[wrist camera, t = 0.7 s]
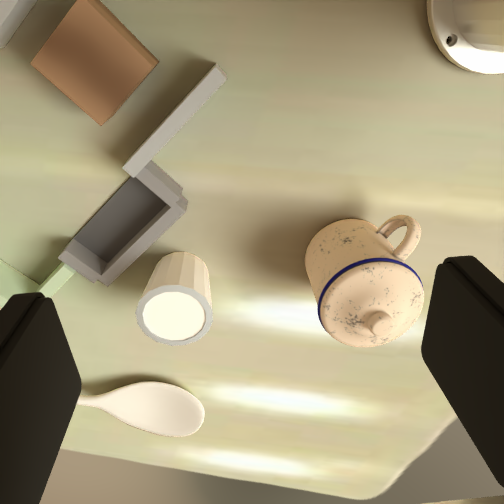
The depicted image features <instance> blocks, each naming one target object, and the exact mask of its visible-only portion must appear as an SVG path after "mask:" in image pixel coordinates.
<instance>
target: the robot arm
mask: <svg viewBox="0 0 504 504" xmlns="http://www.w3.org/2000/svg"><path fill="white" fill-rule="evenodd" d="M427 16H428V24H429V27H430V30H431V33H432V37H433V39H434V41H435V43H436V44H437V46H438V48H439V50H440V51H441V52H442V53H443V54H444V56H445V57H446V58H447V59H448V60H449V61H451V62H452V63H454V64H455V65H457V66H458V67H460V68H462V69H465V70H468V71H470V72H474V73H480V74H503V73H504V0H427ZM448 37H449V41H448V43H446V40H447V38H448ZM421 352H422V357H423V360H424V362H425V364H426V365H427V367H428V368H429V370H430V372H431V373H432V375H433V377H434V378H435V380H436V382H437V383H438V385H439V387H440V388H441V390H442V391H443V393H444V395H445V396H446V398H447V400H448V401H449V403H450V405H451V406H452V408H453V409H454V411H455V413H456V414H457V416H458V418H459V419H460V421H461V423H462V424H463V426H464V428H465V429H466V431H467V432H468V434H469V436H470V437H471V439H472V441H473V442H474V444H475V446H476V447H477V449H478V451H479V452H480V454H481V455H482V457H483V459H484V460H485V462H486V464H487V465H488V467H489V468H490V470H491V472H492V473H493V475H494V477H495V478H496V480H497V481H498V483H499V484H500V485H501V486H502V487H504V283H503V282H502V281H500V280H499V279H498V278H497V277H496V276H495V275H494V274H493V273H492V272H491V271H489V270H488V269H487V268H486V267H485V266H484V265H483V264H482V263H481V262H480V261H479V260H477V259H476V258H475V257H473V256H458V257H448V258H446V259H445V260H444V262H443V264H439V265H438V266H437V269H436V274H435V279H434V284H433V289H432V294H431V300H430V305H429V310H428V315H427V320H426V325H425V330H424V336H423V341H422V346H421ZM80 392H81V378H80V375H79V372H78V369H77V367H76V364H75V361H74V358H73V355H72V353H71V350H70V347H69V344H68V342H67V339H66V336H65V333H64V330H63V328H62V325H61V322H60V319H59V316H58V314H57V311H56V308H55V305H54V303H53V301H52V299H51V298H49V297H45V296H44V294H43V293H41V292H32V293H20V294H14V295H12V296H11V297H10V299H9V300H8V301H7V303H6V304H5V305H4V306H3V308H2V309H1V310H0V504H39V502H40V500H41V497H42V495H43V492H44V489H45V487H46V484H47V481H48V478H49V476H50V473H51V470H52V468H53V465H54V463H55V460H56V457H57V455H58V451H59V449H60V446H61V444H62V441H63V438H64V436H65V433H66V430H67V428H68V425H69V422H70V420H71V417H72V414H73V412H74V409H75V406H76V404H77V401H78V398H79V396H80ZM424 504H504V496H493V497H483V498H473V499H463V500H453V501H443V502H434V503H424Z"/></svg>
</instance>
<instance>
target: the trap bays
mask: <svg viewBox="0 0 504 504" xmlns="http://www.w3.org/2000/svg"><path fill="white" fill-rule="evenodd" d="M182 189H183V188H182V187H181V186H180V185H179V184H178V183H176V182H175V181H174V180H173V179H172V178H171V177H170V176H169V175H167V174H166V173H165V172H164V171H163V170H162V169H161V168H160V167H159V166H157V165H156V164H155V163H154V162H153V161H152V160H150V161H149V162H148V163H147V165H146V166H145V167H144V168H143V169H142V170H141V171H140V172H139V173H138V174H137V175H136V176H135V177H134V178H133V177H132V176H131V177H130V178H129V179H128V180H127V181H126V183H125V184H124V185H123V186H122V187H121V188H120V189H119V190H118V191H117V192H116V193H115V194H114V195H113V196H112V197H111V198H110V200H109V201H108V202H107V203H106V204H105V205H104V206H103V207H102V208H101V209H100V210H99V211H98V212H97V213H96V214H95V215H94V217H93V218H92V219H91V220H90V221H89V222H88V223H87V224H86V225H85V226H84V227H83V228H82V229H81V230H80V231H79V232H78V234H77V235H76V236H75V237H74V238H73V239H72V240H71V241H70V242H69V243H68V244H67V245H66V247H65V248H64V249H63V251H62V252H61V254H60V255H59V257H58V259H59V260H61V261H62V262H64V263H65V264H67V265H68V266H69V267H71V268H72V269H74V270H75V271H77V272H78V273H80V274H81V275H82V276H84V277H85V278H87V279H88V280H90V281H91V282H92V283H95V282H96V281H97V280H99V281H100V282H102V283H103V284H104V285H106V286H107V287H108V286H109V285H110V284H111V283H112V282H113V281H114V280H115V279H116V278H118V277H119V276H120V275H121V274H122V273H123V272H124V271H125V270H126V269H127V268H128V267H129V266H130V265H131V264H132V263H133V262H134V261H135V260H136V259H137V258H138V257H139V256H140V255H141V254H142V253H144V252H145V251H146V250H147V249H148V248H149V247H150V246H151V245H152V244H153V243H154V242H155V241H156V240H157V239H158V238H159V237H160V236H161V235H162V234H163V233H164V232H165V231H166V230H167V229H169V228H170V227H171V226H172V225H173V224H174V223H175V222H176V221H177V220H178V219H179V218H180V217H181V216H182V215H183V214H184V213H185V212H186V209H187V204H188V201H187V200H186V199H185V198H184V197H183V196H182V195H181V193H182Z"/></svg>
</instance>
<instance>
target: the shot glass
mask: <svg viewBox="0 0 504 504" xmlns="http://www.w3.org/2000/svg"><path fill="white" fill-rule="evenodd" d="M136 318H137V323H138V325H139V327H140V328H141V329H142V331H143V332H144V333H145V335H147V336H148V337H150V338H152V339H153V340H155V341H156V342H159V343H163V344H167V345H171V346H174V345H187V344H190V343H192V342H195V341H198V340H199V339H200V338H202V337H203V336H204V335H205V334H206V333H207V332H208V331H209V329H210V327H211V324H212V322H213V313H212V302H211V292H210V283H209V273H208V269H207V267H206V265H205V263H204V262H203V261H202V260H201V259H200V258H198V257H197V256H196V255H193V254H190V253H187V252H173V253H171V254H168V255H166V256H164V257H163V258H162V259H161V260H160V261H159V262H158V263H157V265H156V267H155V269H154V271H153V273H152V275H151V277H150V279H149V281H148V283H147V286H146V288H145V290H144V292H143V294H142V296H141V298H140V300H139V303H138V306H137V309H136Z"/></svg>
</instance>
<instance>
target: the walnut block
mask: <svg viewBox="0 0 504 504" xmlns="http://www.w3.org/2000/svg"><path fill="white" fill-rule="evenodd" d="M158 63H159V61H158V60H157V59H156V58H155V57H154V56H153V55H152V54H151V52H150V51H149V50H148V49H147V48H146V47H145V46H144V45H143V44H142V43H141V42H140V41H139V40H138V39H137V38H136V37H135V36H134V35H133V34H132V33H131V32H130V31H129V30H128V29H127V28H126V27H125V26H124V25H123V24H122V23H121V22H120V21H119V20H118V19H117V18H116V17H115V16H114V15H113V14H112V13H111V12H110V11H109V9H108V8H107V7H106V6H105V5H104V4H103V3H102V2H101V1H100V0H77V1H76V2H75V3H74V5H73V6H72V7H71V9H70V10H69V11H68V13H67V14H66V15H65V17H64V18H63V20H62V21H61V22H60V24H59V25H58V26H57V28H56V29H55V30H54V32H53V33H52V34H51V36H50V37H49V38H48V40H47V41H46V42H45V44H44V45H43V47H42V48H41V49H40V51H39V52H38V53H37V55H36V56H35V57H34V59H33V60H32V61H31V63H30V64H31V65H32V66H33V67H34V68H36V69H37V70H38V71H39V72H40V73H41V74H42V75H44V76H45V77H46V78H47V79H48V80H49V81H50V82H51V83H53V84H54V85H55V86H56V87H57V88H58V89H59V90H61V91H62V92H63V93H64V94H65V95H66V96H67V97H68V98H70V99H71V100H72V101H73V102H74V103H75V104H76V105H78V106H79V107H80V108H81V109H82V110H83V111H84V112H86V113H87V114H88V115H89V116H90V117H91V118H92V119H93V120H95V121H96V122H97V123H98V124H99V125H100V126H101V125H103V124H104V123H105V122H106V121H107V120H108V119H110V118H111V117H112V116H113V115H114V114H115V113H116V111H117V110H118V109H119V108H120V107H121V106H122V105H123V103H124V102H125V101H126V100H127V99H128V98H129V96H130V95H131V94H132V93H133V92H134V91H135V89H136V88H137V87H138V86H139V85H140V84H141V83H142V81H143V80H144V79H145V78H146V77H147V76H148V74H149V73H150V72H151V71H152V70H153V69H154V68H155V66H156V65H157V64H158Z"/></svg>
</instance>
